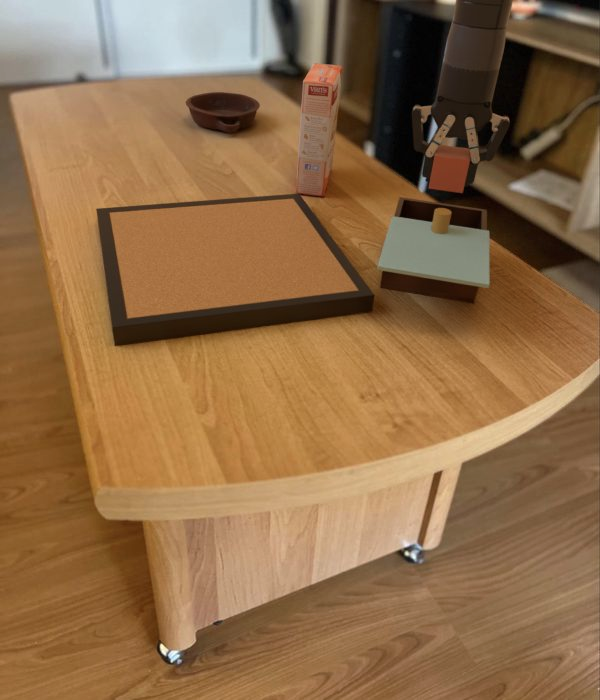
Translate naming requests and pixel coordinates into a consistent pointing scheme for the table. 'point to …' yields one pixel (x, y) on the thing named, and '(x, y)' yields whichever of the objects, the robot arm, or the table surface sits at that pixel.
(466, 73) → the robot arm
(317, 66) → the cracker box
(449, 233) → the glass top
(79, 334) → the table surface
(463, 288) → the case
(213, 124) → the dish
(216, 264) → the cork board
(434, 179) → the block
